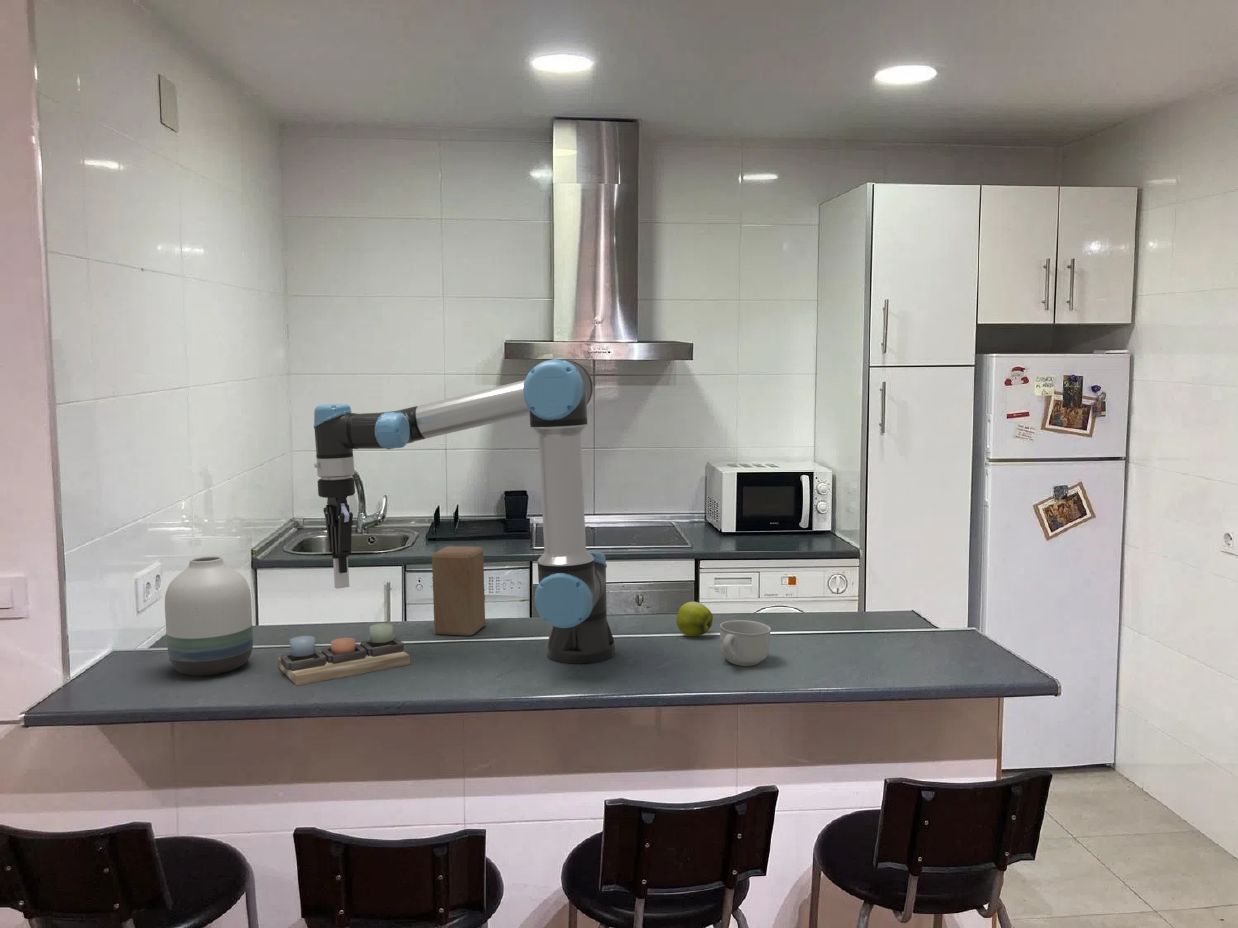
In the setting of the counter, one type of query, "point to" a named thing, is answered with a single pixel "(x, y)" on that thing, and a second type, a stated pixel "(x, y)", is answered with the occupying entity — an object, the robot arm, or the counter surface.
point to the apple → (694, 619)
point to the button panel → (344, 662)
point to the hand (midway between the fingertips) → (342, 587)
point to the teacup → (744, 641)
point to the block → (458, 590)
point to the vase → (208, 618)
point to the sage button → (381, 633)
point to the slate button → (302, 646)
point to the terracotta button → (343, 646)
